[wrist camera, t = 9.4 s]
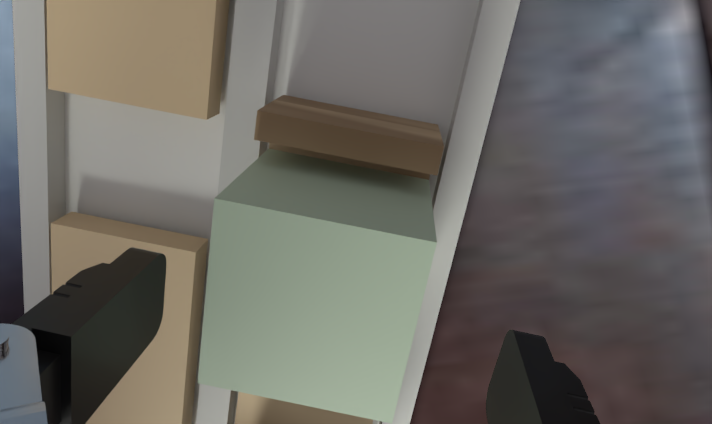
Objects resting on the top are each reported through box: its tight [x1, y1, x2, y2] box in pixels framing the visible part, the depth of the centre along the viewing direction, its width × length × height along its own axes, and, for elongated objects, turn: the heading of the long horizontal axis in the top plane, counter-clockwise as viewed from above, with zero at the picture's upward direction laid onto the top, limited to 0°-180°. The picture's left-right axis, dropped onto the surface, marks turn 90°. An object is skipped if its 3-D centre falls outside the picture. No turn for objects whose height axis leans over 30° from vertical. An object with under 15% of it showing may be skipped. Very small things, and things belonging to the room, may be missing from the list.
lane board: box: [12, 0, 521, 424], centre depth 19 cm, size 25×15×2 cm, turn 170°
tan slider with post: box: [235, 95, 444, 424], centre depth 16 cm, size 16×5×8 cm, turn 170°
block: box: [197, 149, 437, 424], centre depth 15 cm, size 5×5×5 cm
